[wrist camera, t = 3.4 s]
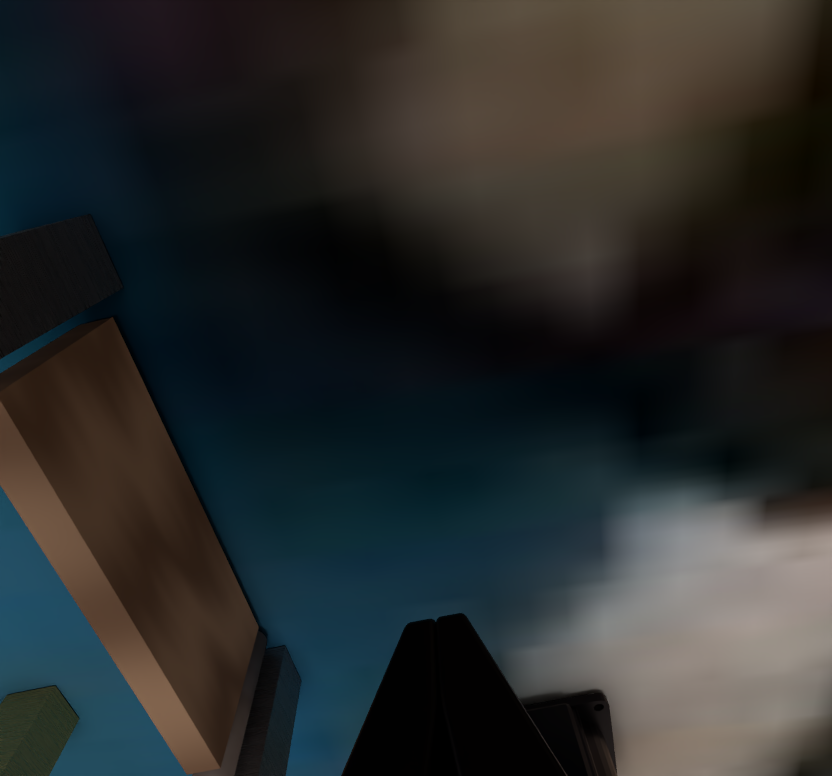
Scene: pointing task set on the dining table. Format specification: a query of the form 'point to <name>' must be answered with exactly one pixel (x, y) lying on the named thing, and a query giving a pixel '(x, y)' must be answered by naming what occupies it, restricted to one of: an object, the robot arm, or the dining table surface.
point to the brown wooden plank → (131, 540)
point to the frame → (6, 332)
